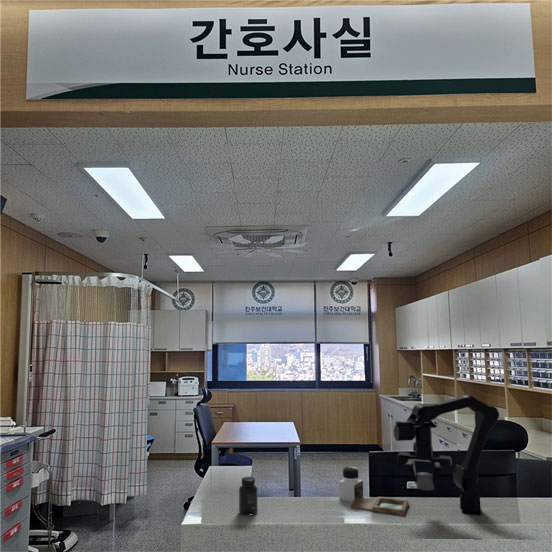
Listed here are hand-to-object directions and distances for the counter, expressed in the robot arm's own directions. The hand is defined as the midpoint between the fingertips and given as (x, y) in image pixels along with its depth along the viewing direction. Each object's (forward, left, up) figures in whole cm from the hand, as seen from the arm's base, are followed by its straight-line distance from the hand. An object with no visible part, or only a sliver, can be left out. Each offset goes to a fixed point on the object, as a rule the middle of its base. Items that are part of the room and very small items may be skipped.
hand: (425, 484), depth 177 cm
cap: (0, 0, -1) cm, 1 cm away
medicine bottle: (+29, -6, -11) cm, 32 cm away
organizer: (+17, -1, -10) cm, 20 cm away
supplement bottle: (+61, +22, -10) cm, 66 cm away
